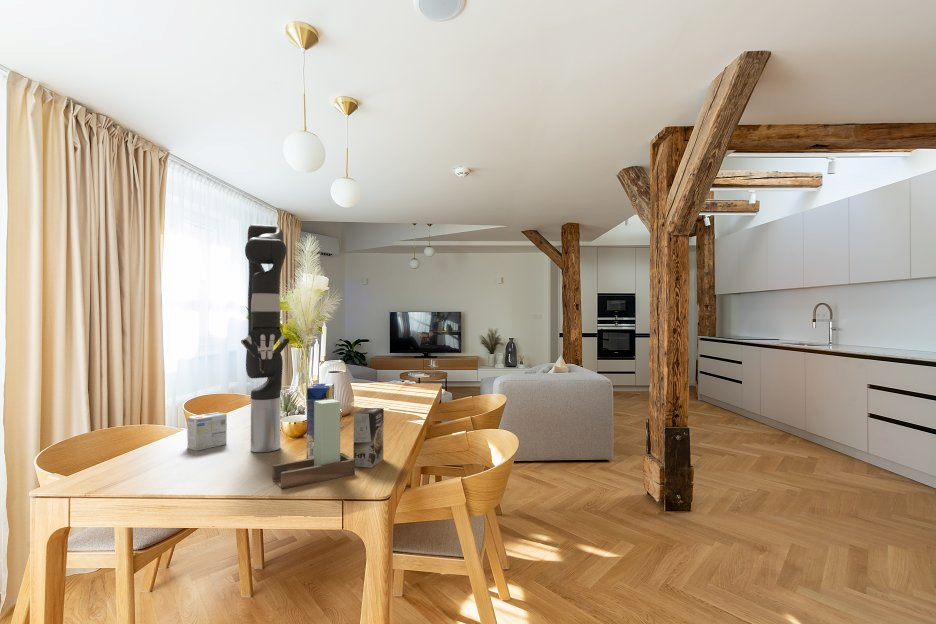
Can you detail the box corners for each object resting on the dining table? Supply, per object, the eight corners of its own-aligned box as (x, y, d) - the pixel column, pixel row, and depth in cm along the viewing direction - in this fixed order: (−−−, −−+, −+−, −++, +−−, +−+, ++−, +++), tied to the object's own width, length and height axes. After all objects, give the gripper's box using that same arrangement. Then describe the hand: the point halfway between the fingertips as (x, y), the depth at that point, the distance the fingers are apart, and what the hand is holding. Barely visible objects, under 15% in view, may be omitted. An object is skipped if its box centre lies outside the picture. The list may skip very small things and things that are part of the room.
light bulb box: (217, 441, 174) (217, 411, 174) (227, 444, 170) (227, 413, 170) (186, 448, 165) (186, 416, 166) (195, 451, 161) (196, 418, 162)
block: (313, 471, 138) (314, 401, 139) (332, 468, 142) (332, 399, 142) (320, 476, 134) (321, 403, 134) (340, 472, 137) (340, 401, 137)
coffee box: (372, 468, 144) (373, 413, 144) (352, 466, 145) (352, 412, 145) (384, 459, 153) (384, 407, 153) (365, 458, 154) (365, 406, 154)
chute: (272, 479, 133) (272, 465, 133) (341, 466, 145) (341, 452, 145) (282, 489, 126) (282, 473, 126) (354, 474, 138) (354, 460, 138)
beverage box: (333, 448, 165) (333, 383, 165) (329, 457, 154) (329, 388, 154) (312, 449, 164) (313, 383, 164) (306, 458, 153) (306, 388, 153)
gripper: (286, 310, 143) (285, 370, 143) (237, 310, 135) (236, 373, 135) (294, 310, 137) (293, 372, 137) (243, 309, 129) (243, 375, 129)
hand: (265, 372), depth 136 cm, fingers closed
